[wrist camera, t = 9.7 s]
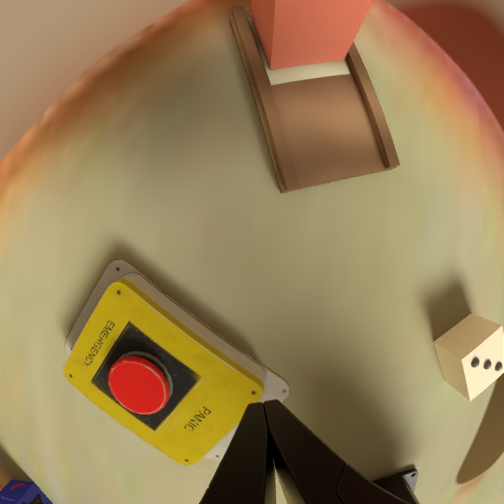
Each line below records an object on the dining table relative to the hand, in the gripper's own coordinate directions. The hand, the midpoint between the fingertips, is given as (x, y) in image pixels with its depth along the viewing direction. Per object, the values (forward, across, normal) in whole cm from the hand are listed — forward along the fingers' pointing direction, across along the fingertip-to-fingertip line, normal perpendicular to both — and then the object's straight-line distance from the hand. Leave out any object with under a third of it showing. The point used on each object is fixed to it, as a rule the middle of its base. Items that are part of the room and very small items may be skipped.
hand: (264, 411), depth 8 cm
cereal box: (+8, +28, +33) cm, 44 cm away
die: (+9, -16, +8) cm, 20 cm away
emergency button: (+12, +6, +6) cm, 14 cm away
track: (+13, -6, -12) cm, 19 cm away
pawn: (+13, -6, -16) cm, 21 cm away
